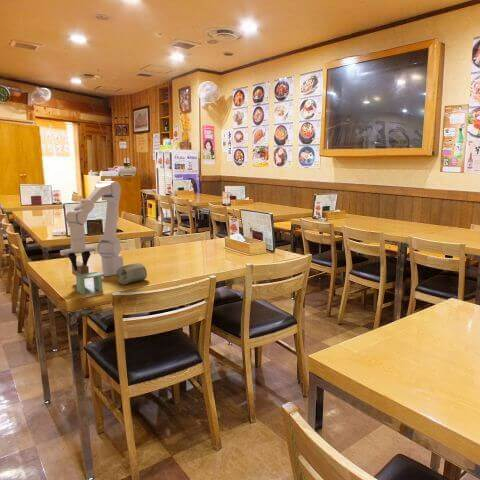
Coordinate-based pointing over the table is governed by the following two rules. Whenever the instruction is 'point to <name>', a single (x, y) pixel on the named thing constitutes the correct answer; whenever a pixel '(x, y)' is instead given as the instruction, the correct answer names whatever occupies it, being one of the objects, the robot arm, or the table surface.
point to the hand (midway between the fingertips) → (80, 269)
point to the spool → (131, 273)
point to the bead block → (81, 278)
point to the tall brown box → (80, 269)
